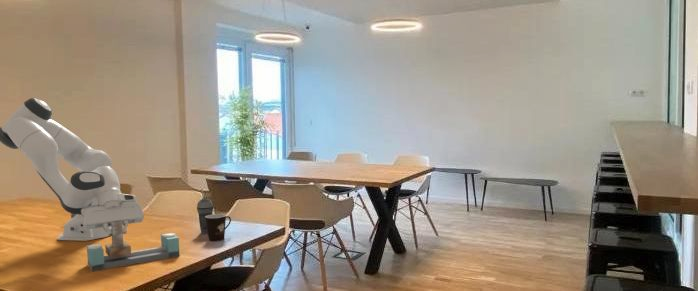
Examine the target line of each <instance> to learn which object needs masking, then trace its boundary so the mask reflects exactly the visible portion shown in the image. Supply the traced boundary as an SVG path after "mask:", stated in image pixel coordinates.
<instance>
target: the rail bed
mask: <svg viewBox="0 0 698 291" xmlns="http://www.w3.org/2000/svg"><path fill="white" fill-rule="evenodd" d="M179 239H180V238H179V237H178V236H177V235H176V233H172V232H169V233H162V234H160V244H161V246H159V247H152V248H145V249H140V250H134V251H132V250H131V255H126V256H120V257H114V258H110V257H109V256H108V255H105V251H104V248H103V246H102V245H103V244H99V243H96V244H90V245H86V253H87V255H86V256H87V266H88V265H89V266H88V267H89V269H90V271H91V270H92V271H91V272H97V271H102V269H103V270H106V269H107V270H108V268H109V269H114V268H113V267H115V268H119V267H118V266H120V267H124V266H125V265H126V266H131V265H136V263H137V264H141V263H142V262H143V263H146V262H152V261H153V262H154V261H158V260H164V259H165V260H166V259H169V258H175V257H176V258H177V257H180V256H181V255H180V254H181V253H180V240H179ZM143 263H142V264H143ZM130 264H131V265H130ZM126 266H125V267H126Z"/></svg>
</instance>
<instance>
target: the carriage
mask: <svg viewBox="0 0 698 291" xmlns="http://www.w3.org/2000/svg"><path fill="white" fill-rule="evenodd" d="M123 228H124V226H123V225H122V222H121V221H117V222H111V229H112V232H113V235H112V236H111V243H107V244H106V243H105V244H104V245H105V254H107V255H106V256H109V257H110V258H114V257H120V256H126V255H131V252H132V247H131V245H130V244H129V243H128V242H127V241H126V240H125V241H124V234H123Z"/></svg>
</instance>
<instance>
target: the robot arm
mask: <svg viewBox="0 0 698 291" xmlns="http://www.w3.org/2000/svg"><path fill="white" fill-rule="evenodd" d="M52 114H53V113H52V109H51V107H50V106H49V105H48V104H47V102H45V101H44V100H41V99H38V98H36V97H30V98H28V99H27V100H25V101H24V102H23V104H22V105H20V106H19V107H18V108H17V109H16V110H14V111H13V112H12V114H11V115H10V116H9V118H7V119H6V121H5V122H4V124H3V125H2V126H0V143H2V145H3V146H5V147H7V148H10V149H13V150H17V149H19V150H20V151H21V152H22V153H23V154H24V155H25V156H26V157H27V159H28V160H29V161H30V163H31V164H32V166H33V167H34V169H35V170H36V172H37V174H38V175H39V176H40V178H41V179H42V180H43V182H44V183H45V184H46V185H47V186H48V187H49V189H50V190H51V191H52V192H53V193H54V194H55V195H56V197H57V198H58V200H59V202H60V205H61V207H62V208H63V210H65V211H66V212H68V213H69V214H71V213H72V214H77V215H76V216H74V217H73V218H72V219H71V218H70V219H69V220H68V221H66V223H65V224H64V225H63V229H62V230H63V231H62V233H61V234H60V235H58V236H57V241H80V242H81V241H82V242H85V241H86V242H87V241H88V242H89V241H91V240H96V239H101V238H107V237H112V235H113V232H112V229H111V222H117V221H121V222H122V227H123V235H125V234H127V228H128V226H129V225H131V224H137V223H142V222H143V221H144V218H145V214H144V211H143V208H142V206H141V204H140V203H139V201H137V200H138V199H137V196H136V195H134V194H125V193H122V191H121V184H120V179H119V177H118V175H117V172H116V171H115V169H113V168H112V158H111V156H110V155H108V153H106V151H104V150H101V149H95V148H92V147H91V146H90V145H88V144H87V143H86V142H85V141H83V140H82V139H81V138H80V137H79V136H78V135H76V134H75V133H73V132H72V131H71V130H69V129H67V128H66V127H65V126H63V125H62V124H60V123H58V122H57V121H55V120H53V119H52ZM59 157H60V158H61V159H63V160H64V161H66V162H67V163H68V164H69V165H70V166H72V167H74V168H75V169H76V170H78V172H75V173H74V174H72V175H71V176H70V179H69V180H67V179H66V178H65V176H64V175H63V174H62V172H61V171H60V167H59Z"/></svg>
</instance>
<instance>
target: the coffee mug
mask: <svg viewBox="0 0 698 291" xmlns="http://www.w3.org/2000/svg"><path fill="white" fill-rule="evenodd" d="M227 218H228V219H229V221H228V223H227V225H226V221H227V220H226V219H227ZM205 219H206V225H207V231H208V234H207V236H208V241H210V242H220V241H224V240H225V234H226V230H227V228H228V227H229V226H230V224H231V222H232V219H231V216H227V214H224V213H223V214H222V213H217V214H216V213H215V214H213V213H212V215H208V216H205Z"/></svg>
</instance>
